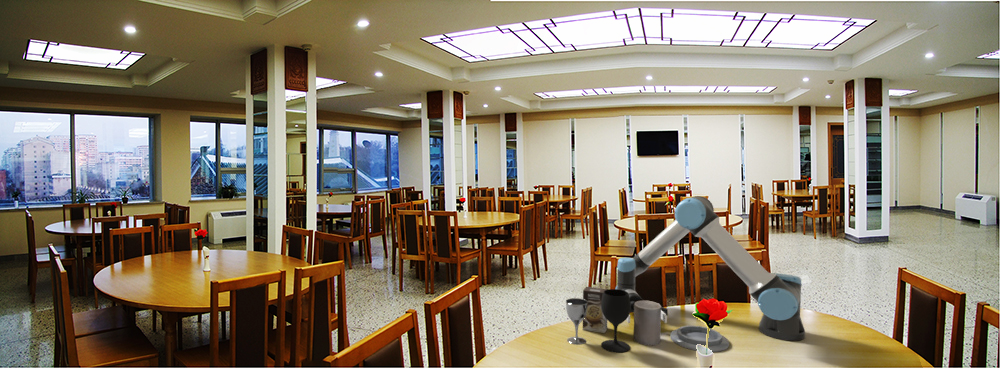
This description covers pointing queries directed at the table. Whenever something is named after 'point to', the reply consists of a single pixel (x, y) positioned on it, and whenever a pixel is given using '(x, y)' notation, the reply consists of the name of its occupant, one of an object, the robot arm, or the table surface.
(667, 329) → the table surface
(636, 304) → the pillar candle
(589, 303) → the coffee box
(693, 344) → the candle plate
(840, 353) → the table surface
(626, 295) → the wine glass
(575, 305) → the wine glass
